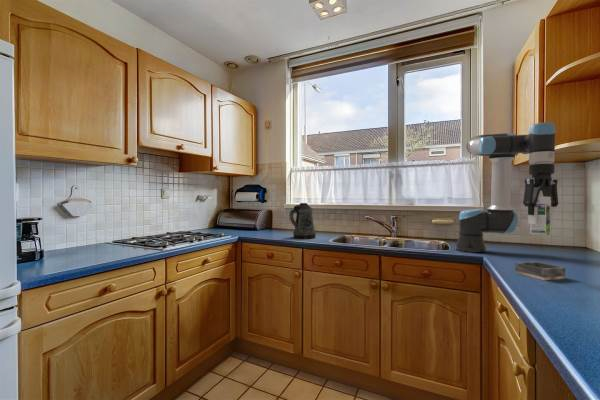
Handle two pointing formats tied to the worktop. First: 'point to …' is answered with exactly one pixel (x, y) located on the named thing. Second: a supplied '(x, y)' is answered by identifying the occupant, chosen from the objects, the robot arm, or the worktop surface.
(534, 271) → the frame
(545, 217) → the syrup box
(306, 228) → the black handled container
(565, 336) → the worktop surface
